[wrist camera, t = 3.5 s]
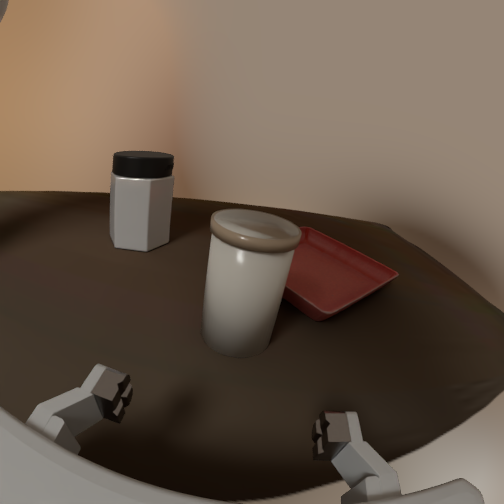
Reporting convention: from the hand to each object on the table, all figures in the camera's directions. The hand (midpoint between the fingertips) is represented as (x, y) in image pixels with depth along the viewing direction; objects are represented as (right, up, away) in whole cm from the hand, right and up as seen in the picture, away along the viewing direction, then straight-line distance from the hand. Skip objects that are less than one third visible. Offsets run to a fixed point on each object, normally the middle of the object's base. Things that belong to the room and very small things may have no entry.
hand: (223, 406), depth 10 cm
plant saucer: (+9, +3, +27) cm, 28 cm away
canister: (0, -1, +13) cm, 14 cm away
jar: (-15, +8, +27) cm, 32 cm away
